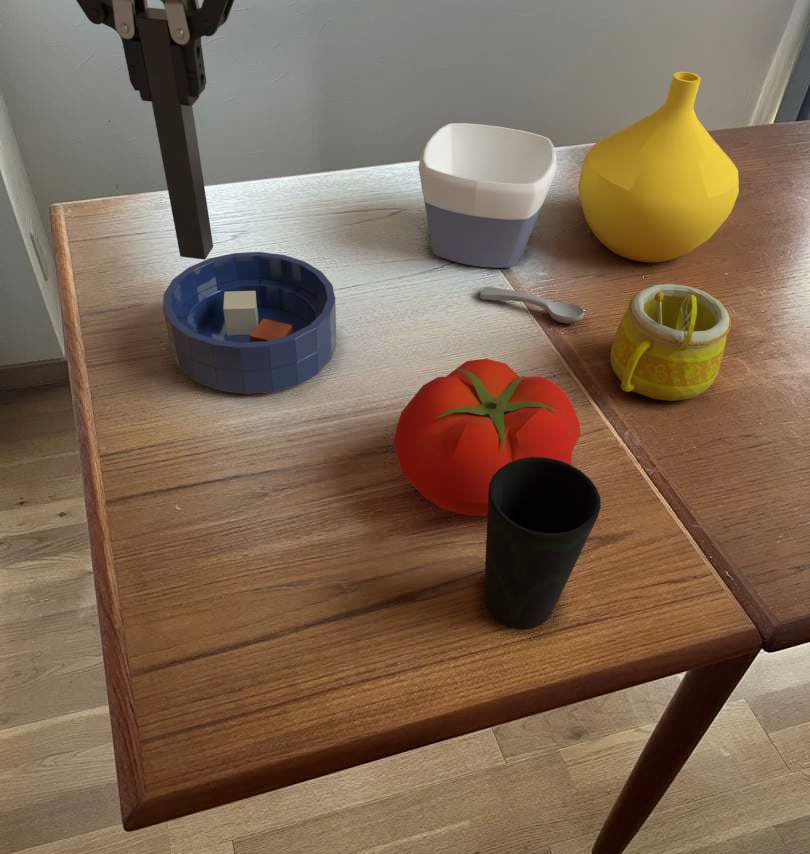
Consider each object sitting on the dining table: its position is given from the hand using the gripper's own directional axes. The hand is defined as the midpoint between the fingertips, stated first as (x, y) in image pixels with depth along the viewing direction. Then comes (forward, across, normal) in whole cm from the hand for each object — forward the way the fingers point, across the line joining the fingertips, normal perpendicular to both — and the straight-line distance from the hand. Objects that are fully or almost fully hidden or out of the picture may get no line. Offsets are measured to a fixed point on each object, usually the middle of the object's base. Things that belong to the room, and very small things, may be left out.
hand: (171, 98), depth 54 cm
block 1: (+29, -3, +16) cm, 33 cm away
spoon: (+30, +26, +27) cm, 48 cm away
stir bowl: (+29, -1, +13) cm, 32 cm away
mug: (+30, +40, +17) cm, 52 cm away
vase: (+30, +39, +45) cm, 67 cm away
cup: (+30, +28, -14) cm, 43 cm away
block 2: (+29, +1, +11) cm, 31 cm away
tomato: (+30, +24, -1) cm, 38 cm away
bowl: (+30, +19, +40) cm, 53 cm away
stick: (+11, 0, 0) cm, 11 cm away
